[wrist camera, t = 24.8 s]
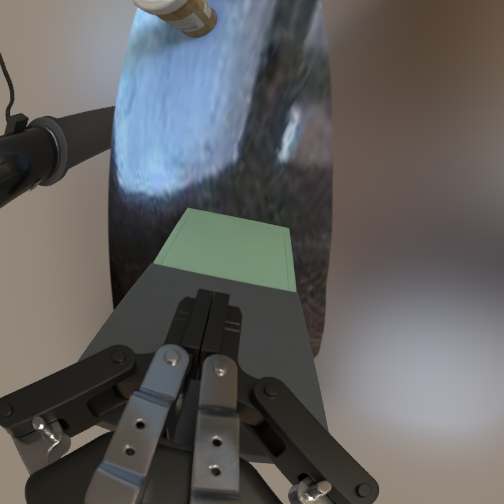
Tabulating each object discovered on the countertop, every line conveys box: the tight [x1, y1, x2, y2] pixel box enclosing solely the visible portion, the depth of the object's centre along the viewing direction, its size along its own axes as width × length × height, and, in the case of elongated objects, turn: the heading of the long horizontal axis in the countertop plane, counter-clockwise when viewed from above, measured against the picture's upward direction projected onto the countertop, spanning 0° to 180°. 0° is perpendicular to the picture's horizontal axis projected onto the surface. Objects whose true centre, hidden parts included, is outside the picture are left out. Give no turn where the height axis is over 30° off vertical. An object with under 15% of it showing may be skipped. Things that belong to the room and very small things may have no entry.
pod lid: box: [78, 263, 328, 464], centre depth 18 cm, size 16×14×1 cm
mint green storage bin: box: [153, 208, 296, 292], centre depth 36 cm, size 16×14×13 cm
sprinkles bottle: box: [133, 0, 217, 37], centre depth 18 cm, size 5×5×13 cm
